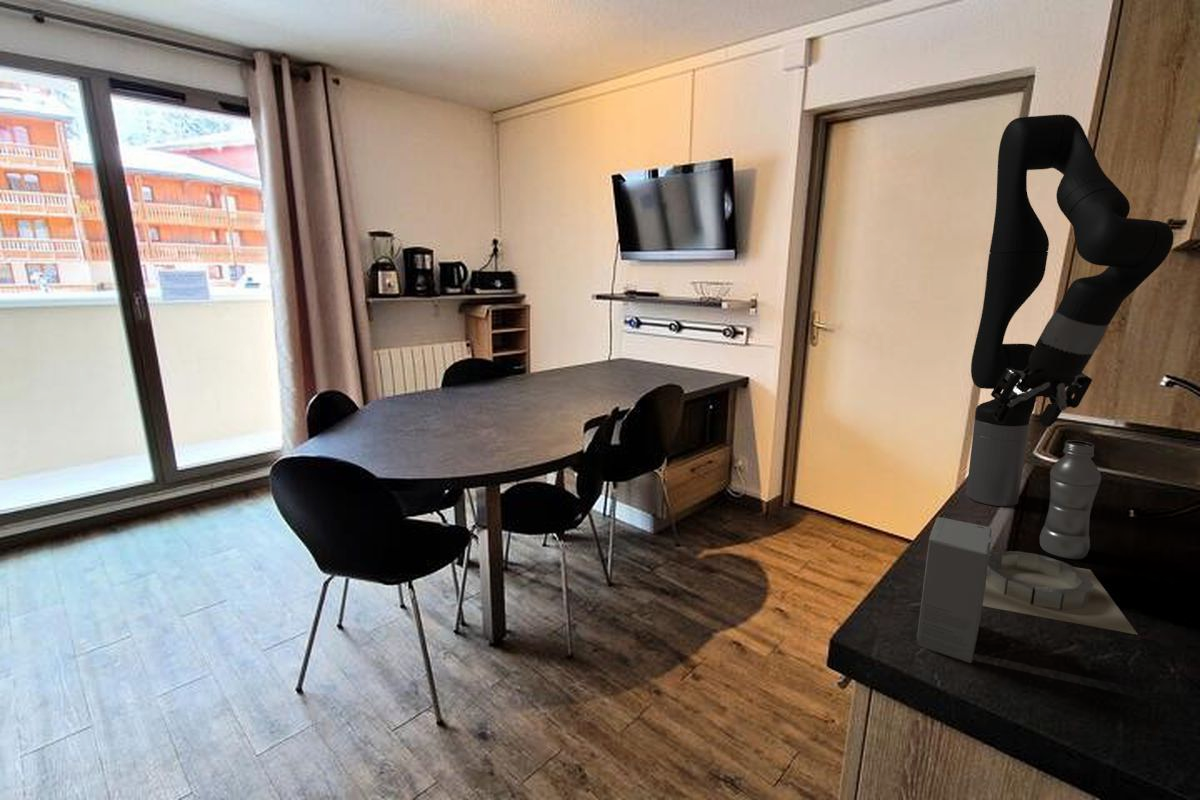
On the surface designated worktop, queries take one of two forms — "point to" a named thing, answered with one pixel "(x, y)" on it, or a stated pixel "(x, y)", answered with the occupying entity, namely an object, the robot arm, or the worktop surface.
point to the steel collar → (1037, 594)
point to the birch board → (1093, 614)
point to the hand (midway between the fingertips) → (1020, 422)
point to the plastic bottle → (1071, 502)
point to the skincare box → (954, 588)
